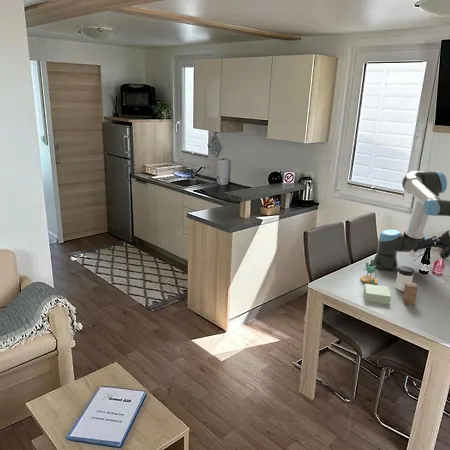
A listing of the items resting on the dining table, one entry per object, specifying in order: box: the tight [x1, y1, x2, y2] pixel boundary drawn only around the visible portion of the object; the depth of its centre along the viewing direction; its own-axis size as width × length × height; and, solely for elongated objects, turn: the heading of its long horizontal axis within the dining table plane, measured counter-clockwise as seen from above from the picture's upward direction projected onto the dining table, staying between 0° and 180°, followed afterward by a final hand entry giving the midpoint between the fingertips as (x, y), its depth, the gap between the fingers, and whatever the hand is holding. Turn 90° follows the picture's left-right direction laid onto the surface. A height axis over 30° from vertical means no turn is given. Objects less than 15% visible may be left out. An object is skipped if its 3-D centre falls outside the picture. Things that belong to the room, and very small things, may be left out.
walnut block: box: [402, 282, 418, 306], centre depth 214 cm, size 5×5×10 cm
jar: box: [394, 265, 415, 292], centre depth 230 cm, size 9×8×12 cm
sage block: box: [363, 283, 392, 306], centre depth 219 cm, size 12×12×5 cm
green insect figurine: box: [359, 259, 379, 285], centre depth 237 cm, size 10×18×15 cm, turn 163°
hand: (420, 257), depth 215 cm, fingers open, 13 cm apart
